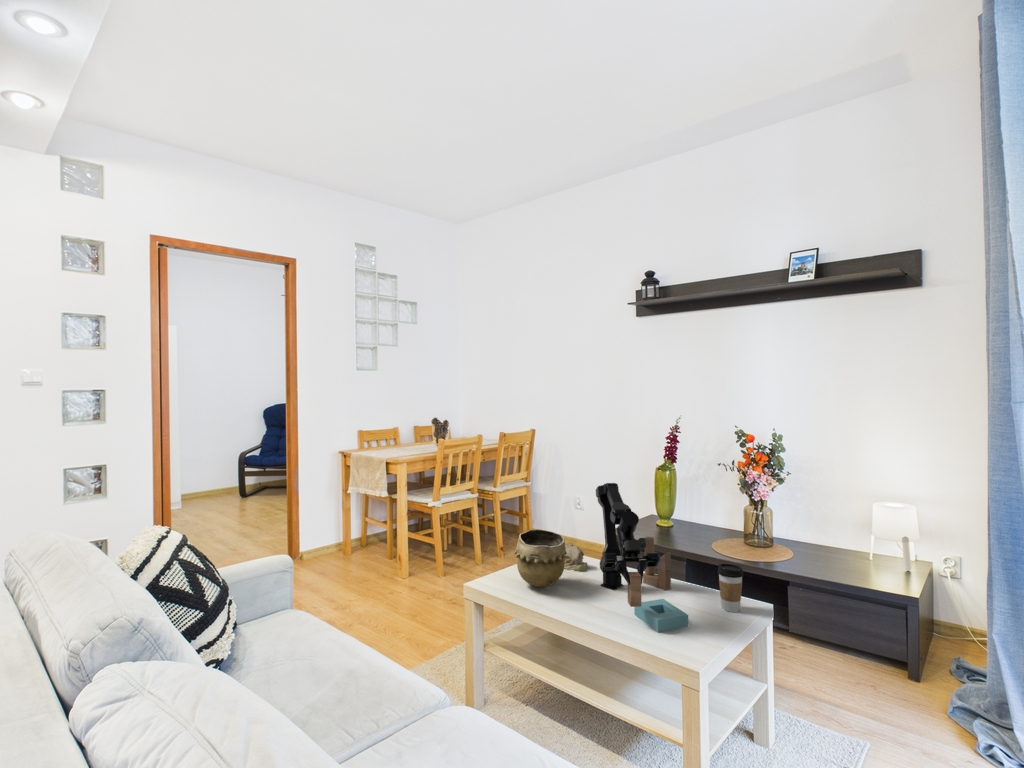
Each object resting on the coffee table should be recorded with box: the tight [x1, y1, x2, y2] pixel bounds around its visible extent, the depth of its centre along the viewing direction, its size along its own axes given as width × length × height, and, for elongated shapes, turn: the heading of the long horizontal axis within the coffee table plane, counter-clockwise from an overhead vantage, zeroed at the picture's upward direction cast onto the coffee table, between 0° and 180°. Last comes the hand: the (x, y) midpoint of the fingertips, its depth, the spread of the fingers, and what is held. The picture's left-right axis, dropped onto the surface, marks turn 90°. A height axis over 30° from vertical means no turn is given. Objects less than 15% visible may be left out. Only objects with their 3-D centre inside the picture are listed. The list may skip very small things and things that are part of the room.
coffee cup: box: [717, 563, 744, 613], centre depth 192 cm, size 8×8×15 cm
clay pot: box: [513, 528, 567, 588], centre depth 216 cm, size 21×21×20 cm
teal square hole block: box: [633, 598, 689, 633], centre depth 183 cm, size 14×12×4 cm
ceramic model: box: [564, 543, 588, 572], centre depth 238 cm, size 14×11×10 cm
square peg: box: [627, 571, 642, 608], centre depth 181 cm, size 4×4×10 cm
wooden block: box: [642, 536, 672, 591], centre depth 215 cm, size 4×11×18 cm, turn 39°
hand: (635, 584), depth 180 cm, fingers closed on square peg, 3 cm apart
